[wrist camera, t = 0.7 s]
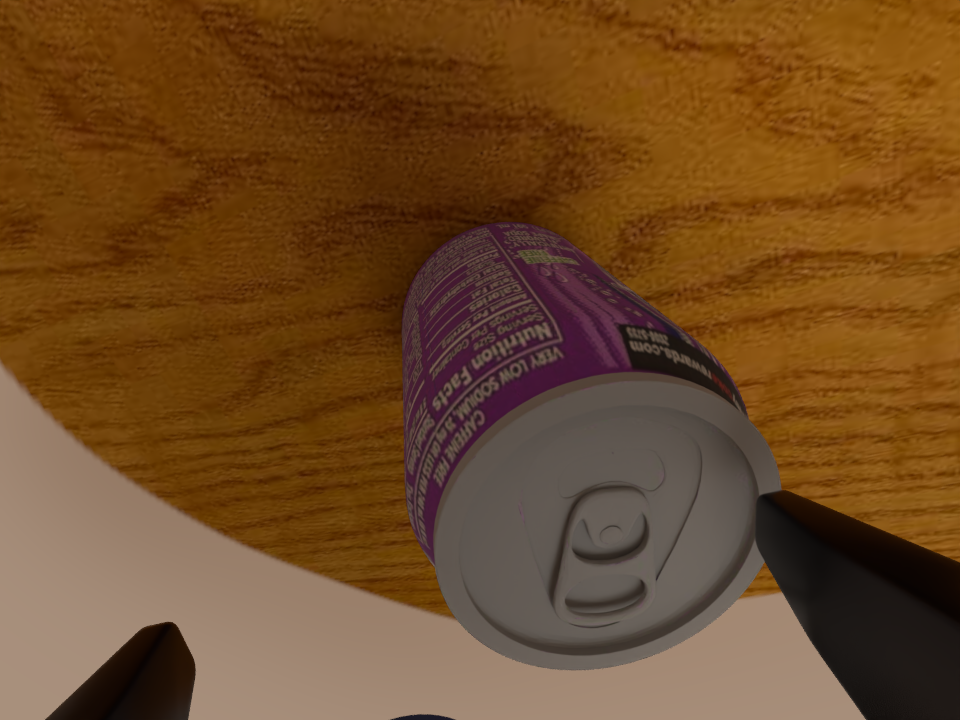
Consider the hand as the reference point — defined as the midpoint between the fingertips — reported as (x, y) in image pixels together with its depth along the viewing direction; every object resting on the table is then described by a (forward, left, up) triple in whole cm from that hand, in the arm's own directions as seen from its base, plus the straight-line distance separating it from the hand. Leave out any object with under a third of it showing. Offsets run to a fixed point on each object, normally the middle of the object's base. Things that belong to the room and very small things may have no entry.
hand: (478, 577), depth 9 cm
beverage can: (-1, -2, -13) cm, 13 cm away
